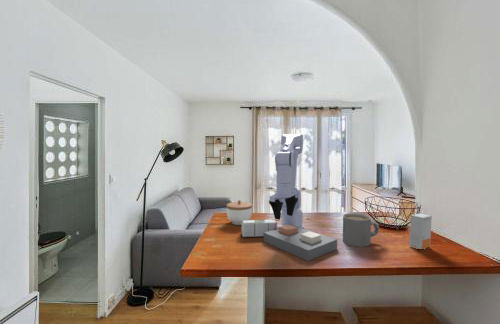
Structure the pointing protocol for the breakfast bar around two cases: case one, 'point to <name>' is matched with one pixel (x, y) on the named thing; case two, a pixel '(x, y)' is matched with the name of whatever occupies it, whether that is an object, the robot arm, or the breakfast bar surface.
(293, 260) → the breakfast bar surface
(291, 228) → the terracotta key
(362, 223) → the coffee mug
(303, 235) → the cream key
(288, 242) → the key board
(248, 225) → the syrup box
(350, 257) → the breakfast bar surface
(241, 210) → the lidded bowl
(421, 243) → the skincare box
